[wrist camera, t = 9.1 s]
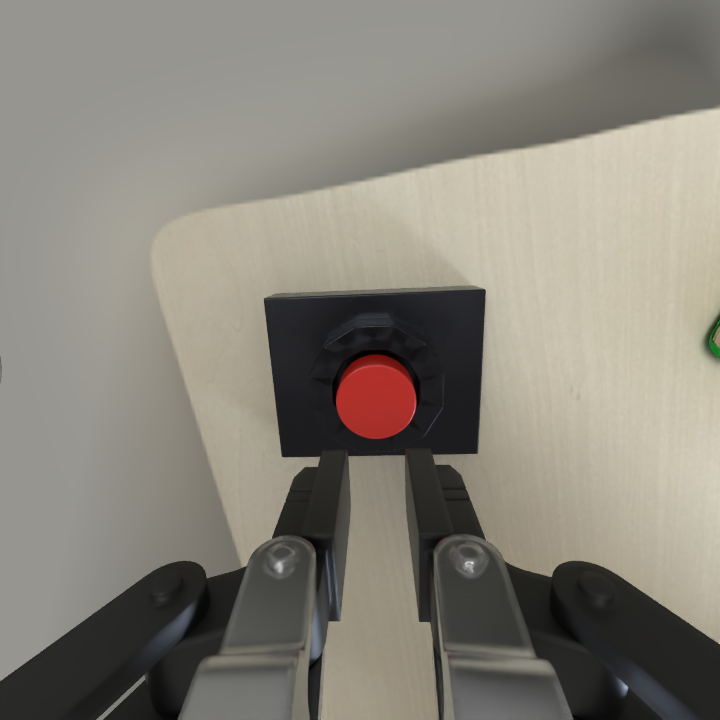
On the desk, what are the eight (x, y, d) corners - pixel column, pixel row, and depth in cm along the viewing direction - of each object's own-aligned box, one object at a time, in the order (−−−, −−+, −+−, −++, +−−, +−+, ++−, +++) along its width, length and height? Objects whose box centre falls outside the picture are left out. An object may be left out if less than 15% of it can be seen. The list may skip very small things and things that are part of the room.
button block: (290, 439, 23) (273, 476, 19) (274, 293, 21) (251, 302, 17) (468, 435, 23) (487, 472, 19) (474, 285, 20) (498, 292, 16)
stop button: (341, 423, 19) (338, 440, 17) (337, 355, 18) (333, 365, 16) (413, 422, 19) (416, 438, 17) (412, 352, 18) (416, 363, 16)
